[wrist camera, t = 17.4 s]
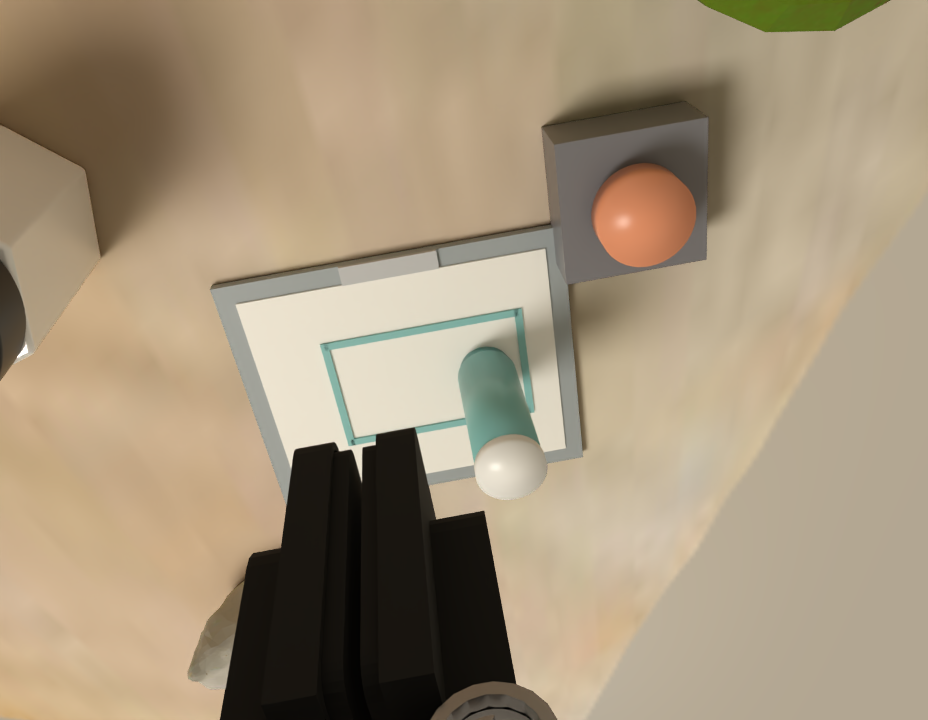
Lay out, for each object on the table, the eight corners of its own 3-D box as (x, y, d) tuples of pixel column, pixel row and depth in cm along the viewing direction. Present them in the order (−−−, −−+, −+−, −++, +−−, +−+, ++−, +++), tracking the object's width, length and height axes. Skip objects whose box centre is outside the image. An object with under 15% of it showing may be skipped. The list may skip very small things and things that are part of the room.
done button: (579, 237, 40) (602, 274, 37) (573, 152, 38) (596, 183, 34) (665, 221, 40) (696, 257, 37) (663, 136, 38) (696, 165, 34)
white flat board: (289, 505, 48) (287, 513, 48) (211, 285, 40) (209, 292, 40) (581, 451, 48) (583, 459, 48) (560, 222, 41) (563, 228, 40)
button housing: (554, 259, 42) (566, 284, 39) (541, 127, 38) (553, 144, 35) (685, 236, 42) (706, 259, 39) (685, 101, 38) (708, 117, 36)
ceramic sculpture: (214, 641, 41) (468, 687, 47) (229, 522, 48) (448, 574, 54) (155, 758, 46) (393, 788, 51) (177, 633, 53) (384, 671, 58)
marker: (459, 398, 45) (480, 505, 37) (451, 348, 43) (471, 449, 35) (517, 388, 45) (550, 493, 37) (511, 337, 43) (544, 436, 35)
